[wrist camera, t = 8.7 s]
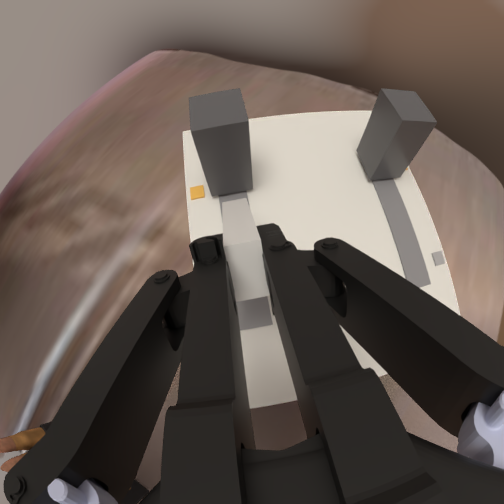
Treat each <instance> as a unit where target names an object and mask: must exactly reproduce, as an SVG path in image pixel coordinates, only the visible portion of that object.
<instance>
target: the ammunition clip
mask: <svg viewBox="0 0 504 504" xmlns="http://www.w3.org/2000/svg"><path fill="white" fill-rule="evenodd" d="M51 423H52V422H49V423H46V424H43V425H40V427H39V428H34V429H30V430H26V431H21V432H18V433H17V434H15V435H12V436H8V437H5V438H1V439H0V453H4V452H12V451H18V450H30V449H31V448H32V447H33V446H34V445H35V444H36V443H37V442H38V441H39V440H40V439H41V438H42V437H43V436H44V435H45V433H46V432H47V430H48V428H49V426H50V424H51ZM25 454H26V453H24V454H21V455H20V456H16V457H14V458H11V459H9V460H8V461H6V462H5V463H4V464H3V465H2V466H1V470H2V471H6V472H9V470H10V469H11V468H12V467H13V466H14V465H15V464H16V463H17V462H18V461H19V460H20V459H21V458H22V457H23V456H24V455H25ZM148 493H149V491H148V490H147V489H146V488H144V487H143V486H142V485H141V484H140V483H138V482H137V481H136V480H135V479H134V481H133V483H132V486H131V488H130V489H129V491H128V493H127V494H126V496H125V498H124V499H123V501H122V502H121V503H120V504H137V503H138V502H139V501H140V500H141V499H142V498H143V497H145V496H146V495H147V494H148Z"/></svg>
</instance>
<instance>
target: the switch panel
mask: <svg viewBox="0 0 504 504" xmlns="http://www.w3.org/2000/svg"><path fill="white" fill-rule="evenodd" d="M371 113H372V111H330V112H312V113H299V114H288V115H278V116H269V117H261V118H254V119H248V120H249V133H250V148H251V163H252V179H253V189H251V190H245V191H240V192H234V193H229V194H223V195H218V196H213V197H212V196H211V193H210V190H209V187H208V184H207V181H206V178H205V175H204V172H203V169H202V166H201V163H200V159H199V156H198V153H197V150H196V147H195V144H194V141H193V137H192V134H191V130H188V131H183V149H184V167H185V182H186V196H187V208H188V219H189V230H190V240H191V242H193V241H194V240H196V239H198V238H201V237H204V236H211V235H216V234H222V233H223V219H222V202H227V201H232V200H237V199H242V198H246V199H247V201H248V204H249V207H250V210H251V213H252V216H253V218H254V221H255V224H256V226H259V225H264V224H270V223H274V224H276V225H278V226H279V227H280V229H281V231H282V232H283V234H284V236H285V238H286V240H287V241H290V242H292V243H293V244H294V245H295V246H296V248H297V250H314V243H315V242H316V241H318V240H321V239H325V238H328V237H329V238H330V237H333V238H337V239H341V240H343V241H345V242H346V243H348V244H350V245H352V246H353V247H355V248H357V249H358V250H360V251H362V252H363V253H365V254H367V255H368V256H370V257H371V258H373V259H375V260H376V261H378V262H380V263H381V264H383V265H384V266H386V267H388V268H389V269H391V270H392V271H394V272H396V273H397V274H399V275H400V276H402V277H403V278H405V279H407V280H408V281H410V282H411V283H413V284H414V285H416V286H417V287H419V288H420V289H422V290H423V291H425V292H426V293H428V294H429V295H431V296H432V297H434V298H435V299H437V300H438V301H440V302H441V303H443V304H444V305H446V306H447V307H448V308H450V309H451V310H453V311H454V312H456V313H457V314H458V315H460V311H459V307H458V302H457V298H456V294H455V290H454V286H453V282H452V279H451V275H450V271H449V268H448V265H447V261H446V258H445V255H444V252H443V249H442V246H441V243H440V240H439V237H438V234H437V231H436V229H435V226H434V223H433V221H432V218H431V216H430V213H429V211H428V208H427V206H426V203H425V201H424V199H423V196H422V194H421V192H420V189H419V187H418V185H417V183H416V181H415V179H414V176H413V174H412V172H411V170H410V168H409V166H408V167H407V168H406V170H405V171H404V173H403V174H402V175H401V177H400V178H389V179H379V180H369V178H368V175H367V173H366V171H365V169H364V166H363V164H362V162H361V160H360V157H359V155H358V153H357V151H356V150H357V148H358V145H359V143H360V140H361V138H362V135H363V133H364V131H365V128H366V126H367V123H368V121H369V118H370V116H371ZM193 267H194V261H193ZM235 300H236V299H235ZM236 304H237V308H238V317H239V326H240V334H241V343H242V351H243V359H244V367H245V375H246V383H247V391H248V399H249V406H250V409H252V408H258V407H264V406H270V405H275V404H281V403H286V402H291V401H295V400H297V396H296V392H295V389H294V385H293V381H292V378H291V374H290V370H289V367H288V363H287V359H286V356H285V352H284V348H283V345H282V341H281V337H280V334H279V330H278V326H277V323H276V319H275V315H273V313H272V306H271V300H270V296H265V297H260V298H254V299H249V300H244V301H239V302H236ZM340 327H341V326H340ZM341 329H342V331H343V333H344V334H345V336H346V338H347V340H348V342H349V344H350V346H351V348H352V350H353V352H354V353H355V355H356V357H357V359H358V361H359V363H360V365H361V366H362V368H364V369H366V368H369V367H370V368H371V369H373V370H374V371H375V372H376V374H377V375H378V377H380V376H383V375H386V374H388V373H387V372H386V371H385V370H384V369H383V368H382V367H381V366H380V365H379V364H378V363H377V362H376V361H375V360H374V359H373V358H372V357H371V356H370V355H369V354H368V353H367V352H366V351H365V350H364V349H363V348H362V347H361V346H360V345H359V344H358V343H357V342H356V341H355V340H354V339H353V338H352V337H351V336H350V335H349V334H348V333H347V332H346V331H345V330H344V329H343V328H342V327H341Z"/></svg>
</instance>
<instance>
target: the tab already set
mask: <svg viewBox="0 0 504 504" xmlns="http://www.w3.org/2000/svg"><path fill="white" fill-rule="evenodd" d="M436 123H437V122H436V120H435V119H434V117H433V116H432V114H431V113H430V111H429V110H428V108H427V107H426V106H425V104H424V103H423V102H422V100H421V99H420V98H419V96H418V95H417V94H416V92H413V91H403V90H393V89H381V90H380V92H379V95H378V98H377V100H376V103H375V105H374V108H373V111H372V113H371V116H370V118H369V121H368V123H367V126H366V128H365V131H364V133H363V135H362V138H361V140H360V143H359V145H358V148H357V150H356V151H357V153H358V155H359V157H360V160H361V162H362V164H363V166H364V169H365V171H366V173H367V175H368V178H369V180H379V179H389V178H400V177H401V175H402V174H403V173H404V171H405V170H406V168H407V167H408V166H409V164H410V163H411V161H412V160H413V158H414V157H415V155H416V154H417V152H418V151H419V149H420V148H421V146H422V145H423V143H424V142H425V140H426V139H427V137H428V136H429V134H430V133H431V131H432V130H433V128H434V126H435V125H436Z"/></svg>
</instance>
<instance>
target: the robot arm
mask: <svg viewBox="0 0 504 504" xmlns="http://www.w3.org/2000/svg"><path fill="white" fill-rule="evenodd" d="M222 219H223V233H222V234H216V235H211V236H204V237H201V238H198V239H196V240H194V241H193V242H191V243H190V245H189V247H190V251H191V254H192V258H193V261H194V268H193V271H192V272H190V273H188V274H186V275H183V276H180V277H178V275H177V273H176V271H173V270H162V271H160V272H156V273H155V274H154V275H152V276H151V277H150V278H149V279H148V280H147V281H146V282H145V284H144V285H143V286H142V288H141V289H140V290H139V292H138V293H137V294H136V296H135V297H134V298H133V300H132V301H131V302H130V304H129V305H128V306H127V308H126V309H125V311H124V312H123V313H122V315H121V316H120V318H119V319H118V320H117V322H116V323H115V325H114V326H113V327H112V329H111V330H110V332H109V333H108V334H107V336H106V337H105V339H104V340H103V342H102V343H101V345H100V346H99V348H98V349H97V351H96V352H95V354H94V355H93V356H92V358H91V360H90V361H89V363H88V364H87V366H86V367H85V369H84V370H83V372H82V373H81V375H80V376H79V378H78V380H77V381H76V383H75V384H74V386H73V387H72V389H71V391H70V392H69V394H68V396H67V397H66V399H65V401H64V402H63V404H62V406H61V407H60V409H59V411H58V412H57V414H56V416H55V417H54V419H53V421H52V423H51V424H50V426H49V428H48V430H47V432H46V433H45V435H44V436H43V437H42V438H41V439H40V440H39V441H38V442H37V443H36V444H35V445H34V446H33V447H32V448H31V449H30V450H29V451H28V452H27V453H26V454H25V455H24V456H23V457H22V458H21V459H20V460H19V461H18V462H17V463H16V464H15V465H14V466H13V467H12V468H11V469H10V470H9V472H8V474H7V475H6V476H5V480H4V493H5V496H6V498H7V500H8V501H9V503H10V504H120V503H121V502H122V501H123V499H124V498H125V496H126V494H127V493H128V491H129V489H130V488H131V486H132V483H133V481H134V479H135V476H136V474H137V471H138V469H139V466H140V463H141V461H142V458H143V455H144V453H145V450H146V447H147V445H148V442H149V440H150V437H151V434H152V432H153V429H154V427H155V424H156V421H157V419H158V416H159V414H160V411H161V409H162V406H163V404H164V401H165V399H166V396H167V394H168V391H169V389H170V386H171V384H172V381H173V379H174V376H175V374H176V371H177V369H178V367H179V364H180V362H181V368H180V379H179V390H178V401H177V404H176V406H170V407H169V408H168V410H167V412H166V417H165V426H164V438H163V451H162V466H161V481H160V482H159V483H158V484H157V485H156V486H155V487H154V488H153V489H152V490H151V491H150V492H149V493H148V494H147V495H146V497H145V498H144V499H143V500H142V501H141V502H140V503H139V504H504V347H503V346H501V345H499V344H498V343H497V342H495V341H494V340H493V339H491V338H490V337H489V336H487V335H486V334H485V333H483V332H482V331H481V330H479V329H478V328H477V327H475V326H474V325H472V324H471V323H470V322H468V321H467V320H465V319H464V318H463V317H461V316H460V315H458V314H457V313H456V312H454V311H453V310H451V309H450V308H448V307H447V306H446V305H444V304H443V303H441V302H440V301H438V300H437V299H435V298H434V297H432V296H431V295H429V294H428V293H426V292H425V291H423V290H422V289H420V288H419V287H417V286H416V285H414V284H413V283H411V282H410V281H408V280H407V279H405V278H403V277H402V276H400V275H399V274H397V273H396V272H394V271H392V270H391V269H389V268H388V267H386V266H384V265H383V264H381V263H380V262H378V261H376V260H375V259H373V258H371V257H370V256H368V255H367V254H365V253H363V252H362V251H360V250H358V249H357V248H355V247H353V246H352V245H350V244H348V243H346V242H345V241H343V240H341V239H337V238H333V237H330V238H329V237H328V238H325V239H321V240H318V241H316V242H315V243H314V250H297V248H296V246H295V245H294V244H293V243H292V242H290V241H287V240H286V238H285V236H284V234H283V232H282V231H281V229H280V227H279V226H278V225H276V224H274V223H270V224H264V225H259V226H256V224H255V221H254V218H253V216H252V213H251V210H250V207H249V204H248V201H247V199H246V198H242V199H237V200H232V201H227V202H222ZM265 296H270V300H271V306H272V313H273V315H275V319H276V323H277V326H278V330H279V334H280V337H281V341H282V345H283V348H284V352H285V356H286V359H287V363H288V367H289V370H290V374H291V378H292V381H293V385H294V389H295V392H296V396H297V400H298V404H299V407H300V411H301V415H302V418H303V422H304V426H305V430H306V434H307V440H305V441H303V442H301V443H299V444H296V445H294V446H292V447H290V448H288V449H285V450H281V451H272V450H256V447H255V442H254V436H253V428H252V421H251V414H250V406H249V399H248V391H247V383H246V375H245V367H244V359H243V351H242V343H241V334H240V326H239V317H238V308H237V304H236V302H239V301H244V300H249V299H254V298H260V297H265ZM235 299H236V300H235ZM162 322H163V323H162ZM340 326H341V327H342V328H343V329H344V330H345V331H346V332H347V333H348V334H349V335H350V336H351V337H352V338H353V339H354V340H355V341H356V342H357V343H358V344H359V345H360V346H361V347H362V348H363V349H364V350H365V351H366V352H367V353H368V354H369V355H370V356H371V357H372V358H373V359H374V360H375V361H376V362H377V363H378V364H379V365H380V366H381V367H382V368H383V369H384V370H385V371H386V372H387V373H388V374H389V375H390V376H391V377H392V378H393V379H394V380H395V381H396V382H397V383H398V384H399V385H400V386H401V387H402V388H403V390H404V391H405V392H406V393H407V394H408V395H409V396H410V397H411V398H412V399H413V400H414V401H415V402H416V403H417V404H418V405H419V406H420V407H421V408H422V409H423V410H424V411H425V412H426V413H427V414H428V415H429V416H430V417H431V418H432V419H433V420H434V421H435V422H436V423H437V424H438V425H439V426H441V427H442V428H443V429H445V430H446V431H448V432H449V433H450V434H452V435H454V436H456V437H458V442H459V443H458V446H457V453H456V452H453V451H451V450H448V449H446V448H443V447H441V446H438V445H436V444H434V443H431V442H429V441H427V440H424V439H422V438H420V437H418V436H415V435H413V434H411V433H408V432H407V431H406V429H405V427H404V425H403V423H402V421H401V419H400V417H399V415H398V413H397V411H396V409H395V408H394V406H393V404H392V402H391V400H390V398H389V396H388V394H387V392H386V390H385V388H384V386H383V384H382V383H381V381H380V379H379V377H378V375H377V374H376V372H375V371H374V370H373V369H371V368H370V367H369V368H366V369H364V368H362V366H361V365H360V363H359V361H358V359H357V357H356V355H355V353H354V352H353V350H352V348H351V346H350V344H349V342H348V340H347V338H346V336H345V334H344V333H343V331H342V329H341V327H340Z"/></svg>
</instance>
